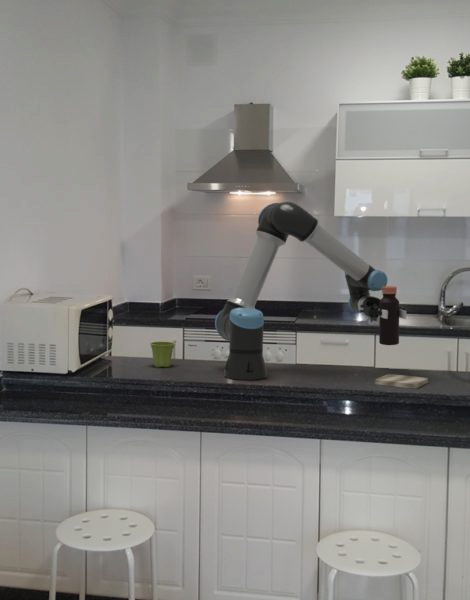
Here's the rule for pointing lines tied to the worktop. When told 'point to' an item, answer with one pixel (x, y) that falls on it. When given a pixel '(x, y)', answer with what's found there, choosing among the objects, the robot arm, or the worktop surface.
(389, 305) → the vinegar
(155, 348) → the plant pot
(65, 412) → the worktop surface
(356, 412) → the worktop surface
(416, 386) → the birch board
